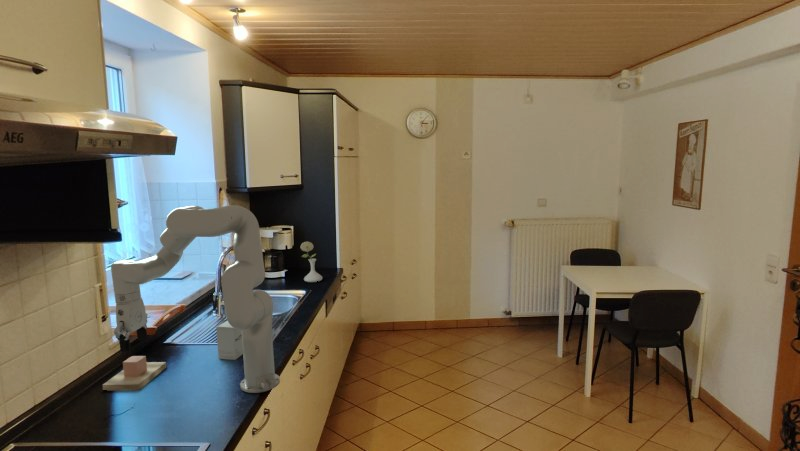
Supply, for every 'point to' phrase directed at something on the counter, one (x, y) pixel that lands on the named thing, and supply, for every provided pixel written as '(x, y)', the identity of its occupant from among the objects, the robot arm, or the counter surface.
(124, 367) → the terracotta cube
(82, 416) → the counter surface
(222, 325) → the supplement box
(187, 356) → the counter surface
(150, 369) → the chopping board
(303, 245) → the flower in vase
